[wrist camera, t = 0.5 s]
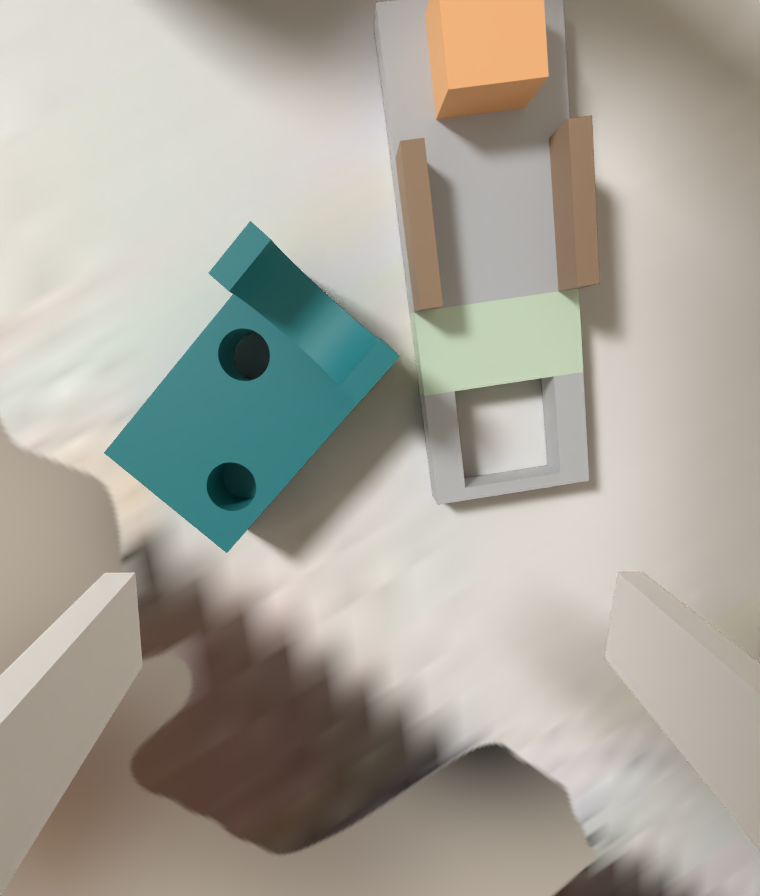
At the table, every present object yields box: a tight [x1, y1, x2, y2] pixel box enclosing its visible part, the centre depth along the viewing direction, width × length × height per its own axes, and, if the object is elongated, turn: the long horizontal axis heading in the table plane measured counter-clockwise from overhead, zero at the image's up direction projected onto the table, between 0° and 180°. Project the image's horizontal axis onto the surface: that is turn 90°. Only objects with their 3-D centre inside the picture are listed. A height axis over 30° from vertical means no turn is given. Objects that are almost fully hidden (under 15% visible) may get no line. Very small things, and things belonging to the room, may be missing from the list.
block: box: [425, 0, 549, 120], centre depth 30 cm, size 6×6×4 cm
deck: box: [374, 0, 600, 505], centre depth 35 cm, size 34×12×6 cm, turn 8°
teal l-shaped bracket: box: [104, 221, 400, 553], centre depth 33 cm, size 18×11×10 cm, turn 138°
